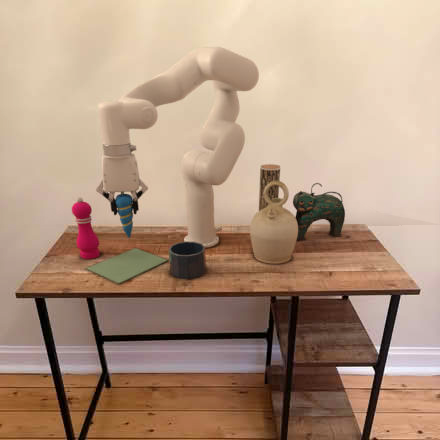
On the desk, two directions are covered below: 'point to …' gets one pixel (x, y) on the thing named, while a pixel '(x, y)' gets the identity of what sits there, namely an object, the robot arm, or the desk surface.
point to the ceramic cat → (318, 211)
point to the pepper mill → (85, 230)
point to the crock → (187, 259)
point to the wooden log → (267, 176)
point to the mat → (127, 265)
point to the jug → (274, 229)
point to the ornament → (125, 211)
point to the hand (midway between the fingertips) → (125, 212)
